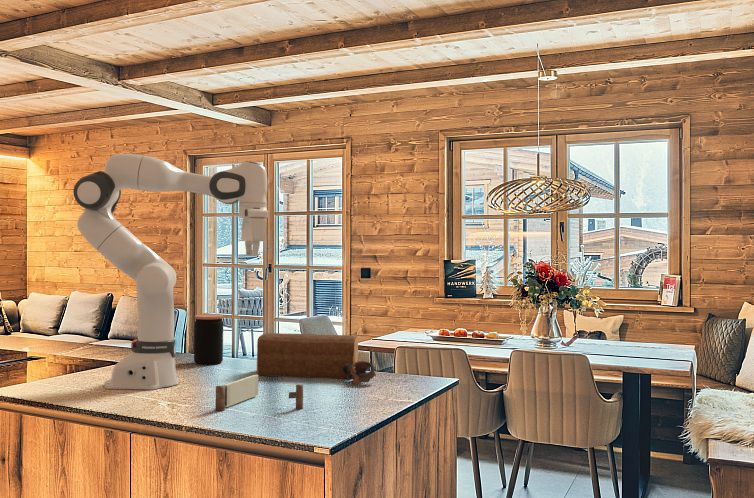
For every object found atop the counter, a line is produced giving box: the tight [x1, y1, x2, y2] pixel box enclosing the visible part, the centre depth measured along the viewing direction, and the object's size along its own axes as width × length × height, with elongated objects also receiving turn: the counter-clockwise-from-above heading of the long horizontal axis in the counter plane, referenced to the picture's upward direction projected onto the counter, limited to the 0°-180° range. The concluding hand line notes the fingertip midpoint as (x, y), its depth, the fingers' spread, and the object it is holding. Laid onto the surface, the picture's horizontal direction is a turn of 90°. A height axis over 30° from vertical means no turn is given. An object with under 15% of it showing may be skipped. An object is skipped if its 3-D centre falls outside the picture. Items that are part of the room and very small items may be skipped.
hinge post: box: [214, 385, 226, 412], centre depth 191 cm, size 2×2×6 cm
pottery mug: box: [342, 360, 377, 386], centre depth 233 cm, size 12×10×8 cm
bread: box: [256, 332, 359, 379], centre depth 247 cm, size 14×34×14 cm, turn 86°
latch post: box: [288, 383, 304, 410], centre depth 195 cm, size 4×3×6 cm, turn 100°
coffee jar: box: [193, 313, 224, 366], centre depth 266 cm, size 11×11×18 cm
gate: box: [222, 374, 259, 408], centre depth 202 cm, size 17×1×6 cm, turn 160°
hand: (251, 255), depth 226 cm, fingers open, 8 cm apart
